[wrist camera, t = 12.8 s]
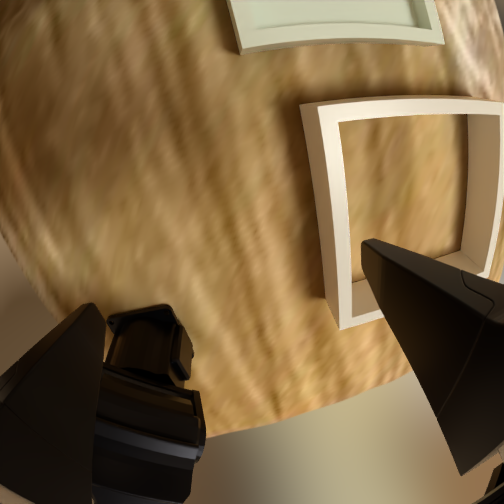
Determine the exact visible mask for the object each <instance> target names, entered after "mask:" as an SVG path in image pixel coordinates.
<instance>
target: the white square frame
mask: <svg viewBox="0 0 504 504" xmlns="http://www.w3.org/2000/svg"><path fill="white" fill-rule="evenodd" d="M299 107H300V112H301V117H302V123H303V128H304V134H305V140H306V145H307V151H308V158H309V164H310V170H311V177H312V183H313V190H314V198H315V205H316V213H317V220H318V229H319V237H320V246H321V255H322V265H323V276H324V287H325V299H326V301H327V303H328V306H329V308H330V310H331V312H332V314H333V317H334V319H335V321H336V323H337V326H338V328H339V330H343V329H346V328H350V327H353V326H357V325H360V324H363V323H367V322H370V321H373V320H376V319H379V318H383V317H384V315H383V314H382V312H381V310H380V308H379V306H378V304H377V302H376V299H375V297H374V295H373V292H372V290H371V288H370V285H369V283H368V281H367V279H365V280H361V281H358V282H354V283H352V279H351V250H350V232H349V217H348V204H347V193H346V182H345V173H344V164H343V156H342V148H341V140H340V133H339V127H338V122H342V121H351V120H359V119H369V118H379V117H391V116H405V115H425V114H467V119H468V184H467V199H466V210H465V220H464V228H463V236H462V242H461V249H460V251H457V252H454V253H451V254H448V255H445V256H442V257H439V258H436V259H435V260H437V261H440V262H443V263H446V264H448V265H451V266H454V267H456V268H459V269H460V271H461V270H464V271H467V272H469V273H472V274H475V275H477V276H480V277H483V278H488V276H489V272H490V268H491V264H492V260H493V255H494V251H495V246H496V241H497V236H498V231H499V225H500V219H501V212H502V205H503V196H504V102H499V101H494V100H489V99H483V98H478V97H469V96H450V95H395V96H375V97H361V98H349V99H339V100H330V101H322V102H314V103H307V104H300V105H299Z"/></svg>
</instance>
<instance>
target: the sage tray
mask: <svg viewBox="0 0 504 504" xmlns="http://www.w3.org/2000/svg"><path fill="white" fill-rule="evenodd" d="M226 1H227V5H228V9H229V13H230V17H231V21H232V25H233V29H234V32H235V36H236V40H237V45H238V49H239V53H240V55H244V54H249V53H255V52H261V51H268V50H274V49H282V48H290V47H299V46H310V45H323V44H345V43H379V44H401V45H414V46H424V47H426V46H435V45H445V43H444V38H443V33H442V29H441V25H440V21H439V17H438V13H437V9H436V6H435V2H434V0H226Z"/></svg>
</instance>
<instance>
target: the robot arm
mask: <svg viewBox="0 0 504 504" xmlns="http://www.w3.org/2000/svg"><path fill="white" fill-rule="evenodd" d="M361 265H362V270H363V272H364V274H365V276H366V279H367V281H368V283H369V285H370V288H371V290H372V292H373V295H374V297H375V299H376V302H377V304H378V306H379V308H380V310H381V312H382V314H383V315H384V317H385V319H386V321H387V322H388V324H389V326H390V328H391V329H392V331H393V333H394V335H395V337H396V339H397V340H398V342H399V344H400V346H401V348H402V350H403V352H404V353H405V355H406V357H407V359H408V361H409V363H410V365H411V367H412V369H413V371H414V373H415V375H416V377H417V379H418V380H419V383H420V385H421V387H422V388H423V391H424V393H425V395H426V397H427V399H428V401H429V403H430V405H431V408H432V410H433V412H434V414H435V416H436V417H437V421H438V423H439V425H440V427H441V430H442V432H443V434H444V437H445V439H446V441H447V444H448V446H449V449H450V451H451V453H452V456H453V458H454V461H455V463H456V466H457V469H458V471H459V473H460V475H461V476H463V475H465V474H466V473H468V472H470V471H471V470H473V469H474V468H476V467H477V466H479V465H480V464H482V463H484V462H485V461H486V460H488V459H490V458H491V457H492V456H494V455H495V454H497V453H498V452H499V454H500V456H501V459H502V461H503V463H501V464H500V465H499V466H497V467H496V468H495V469H494V470H493V473H492V476H491V479H490V481H489V484H488V487H487V489H486V492H485V495H484V496H483V497H482V498H480V499H479V500H477V501H476V502H474V503H473V504H504V284H501V283H498V282H495V281H492V280H489V279H486V278H483V277H480V276H477V275H475V274H472V273H469V272H467V271H464V270H461V271H460V269H459V268H456V267H454V266H451V265H448V264H446V263H443V262H440V261H437V260H435V259H432V258H429V257H426V256H424V255H421V254H418V253H415V252H412V251H409V250H407V249H404V248H401V247H398V246H395V245H392V244H389V243H386V242H383V241H380V240H377V239H374V238H373V239H368V240H364V241H362V243H361ZM165 311H168V312H165ZM112 321H113V322H112ZM106 322H107V324H108V326H109V328H110V329H111V331H112V332H113V334H114V336H113V339H112V342H111V345H110V348H109V351H108V354H107V357H106V360H105V362H103V357H104V344H105V333H106ZM106 322H105V320H104V318H103V316H102V315H101V313H100V311H99V310H98V308H97V306H96V305H95V304H94V303H92V302H90V303H85V304H82V305H81V306H80V307H79V308H77V309H76V310H75V311H74V312H73V313H71V314H70V315H69V316H68V317H67V318H65V319H64V320H63V321H62V322H61V323H60V324H58V325H57V326H56V327H55V328H54V329H53V330H51V331H50V332H49V333H48V334H47V335H46V336H45V337H43V338H42V339H41V340H40V341H39V342H38V343H37V344H35V345H34V346H33V347H32V348H31V349H30V350H29V351H28V352H26V353H25V354H24V355H23V356H22V357H21V358H20V359H19V361H17V362H15V364H13V365H12V366H11V367H10V368H9V369H8V370H7V371H6V372H5V373H4V374H2V375H1V376H0V504H92V498H93V500H94V501H93V504H183V503H184V501H185V500H186V499H187V497H188V496H189V495H190V492H191V482H192V473H193V467H194V464H195V463H197V462H198V461H199V459H200V457H201V455H202V453H203V449H204V446H205V440H206V425H205V420H204V414H203V409H202V404H201V398H200V392H199V391H196V390H188V389H184V383H185V381H186V380H189V379H190V376H191V361H192V358H193V357H194V351H193V349H192V347H193V345H192V342H191V340H190V338H189V336H188V334H187V332H186V330H185V328H184V326H182V325H180V324H179V321H178V319H177V317H176V315H175V313H174V311H173V309H172V308H171V307H170V306H168V305H164V306H159V307H154V308H149V309H144V310H139V311H134V312H128V313H123V314H118V315H112V316H109V317H108V318H107V321H106Z"/></svg>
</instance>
